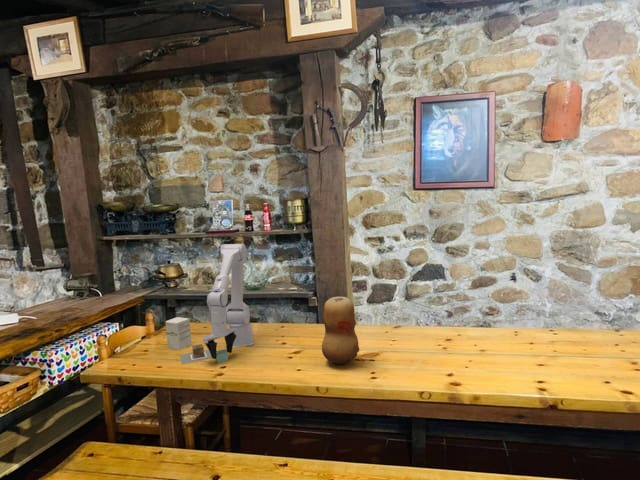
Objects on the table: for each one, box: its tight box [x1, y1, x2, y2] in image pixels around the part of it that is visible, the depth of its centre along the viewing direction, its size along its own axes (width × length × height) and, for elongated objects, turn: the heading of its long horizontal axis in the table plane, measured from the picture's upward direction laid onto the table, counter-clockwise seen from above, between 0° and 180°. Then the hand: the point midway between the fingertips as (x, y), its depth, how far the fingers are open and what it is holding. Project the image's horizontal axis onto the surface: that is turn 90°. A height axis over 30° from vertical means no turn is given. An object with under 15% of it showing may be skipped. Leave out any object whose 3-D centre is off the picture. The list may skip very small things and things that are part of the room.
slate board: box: [179, 348, 213, 365], centre depth 172 cm, size 14×11×1 cm
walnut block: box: [191, 343, 205, 359], centre depth 171 cm, size 4×4×4 cm
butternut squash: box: [321, 296, 360, 365], centre depth 157 cm, size 14×13×25 cm
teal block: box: [215, 348, 229, 363], centre depth 166 cm, size 4×4×4 cm
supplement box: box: [165, 316, 193, 351], centre depth 183 cm, size 7×7×13 cm
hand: (221, 355), depth 166 cm, fingers open, 7 cm apart
